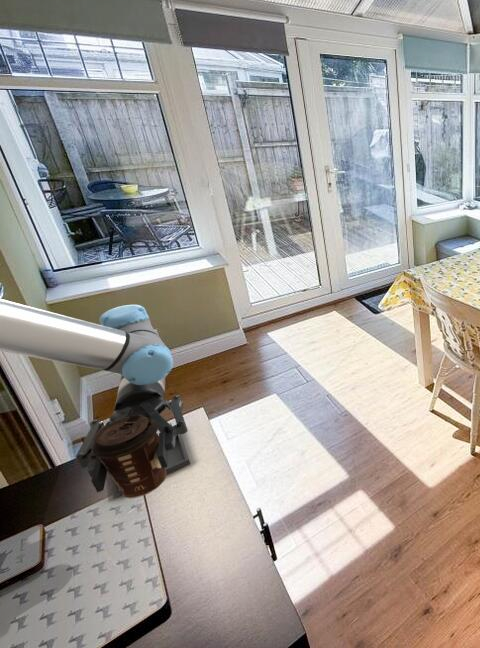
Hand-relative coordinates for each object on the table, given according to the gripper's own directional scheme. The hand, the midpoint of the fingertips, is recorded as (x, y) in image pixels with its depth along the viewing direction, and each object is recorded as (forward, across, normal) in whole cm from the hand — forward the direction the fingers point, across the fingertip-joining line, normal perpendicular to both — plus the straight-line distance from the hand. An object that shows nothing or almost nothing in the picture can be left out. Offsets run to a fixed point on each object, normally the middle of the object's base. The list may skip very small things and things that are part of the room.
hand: (131, 473), depth 69 cm
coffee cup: (-5, 0, -7) cm, 9 cm away
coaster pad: (-23, +2, -18) cm, 29 cm away
